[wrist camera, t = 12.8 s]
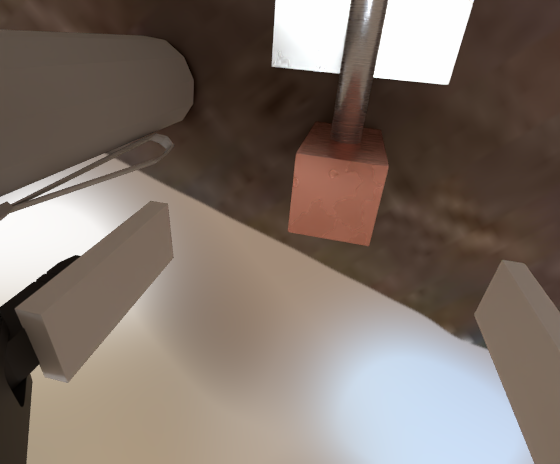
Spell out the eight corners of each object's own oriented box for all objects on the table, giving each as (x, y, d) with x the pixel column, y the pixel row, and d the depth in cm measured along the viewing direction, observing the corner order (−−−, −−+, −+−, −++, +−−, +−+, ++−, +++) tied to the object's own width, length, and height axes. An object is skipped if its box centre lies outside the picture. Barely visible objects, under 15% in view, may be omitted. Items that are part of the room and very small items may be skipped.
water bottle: (104, 72, 30) (-531, 141, 9) (161, 10, 27) (-644, -124, 5) (171, 159, 33) (-187, 374, 11) (231, 112, 29) (-118, 294, 8)
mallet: (365, -267, 17) (367, -525, 9) (470, -271, 16) (568, -555, 9) (307, 181, 29) (287, 231, 21) (367, 190, 28) (368, 245, 20)
